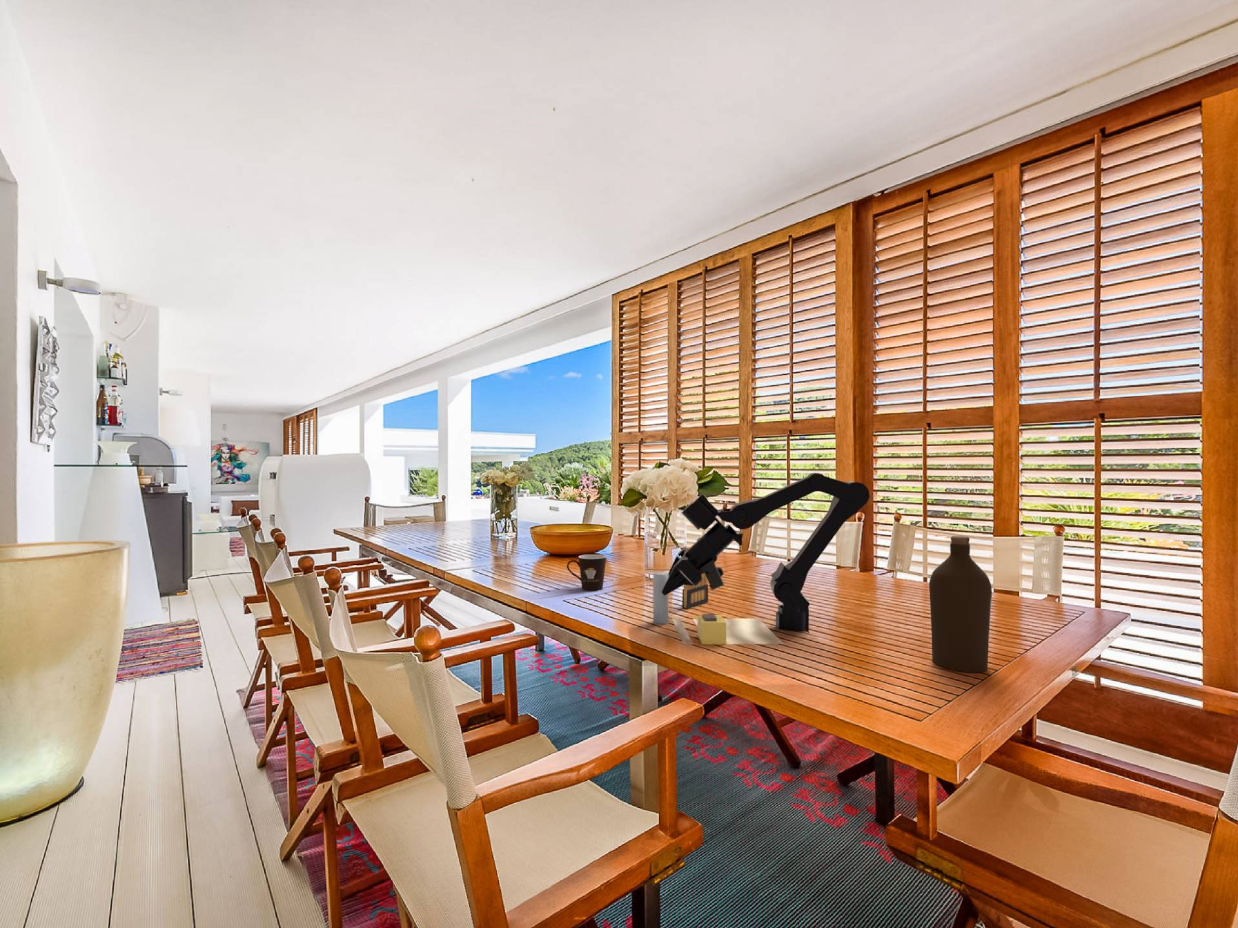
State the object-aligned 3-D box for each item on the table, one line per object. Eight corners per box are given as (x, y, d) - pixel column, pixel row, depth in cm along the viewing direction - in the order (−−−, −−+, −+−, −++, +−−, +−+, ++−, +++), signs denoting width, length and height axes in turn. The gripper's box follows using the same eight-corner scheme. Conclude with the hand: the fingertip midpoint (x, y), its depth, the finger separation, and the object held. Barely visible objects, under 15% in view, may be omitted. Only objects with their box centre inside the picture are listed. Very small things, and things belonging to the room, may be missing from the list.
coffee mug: (611, 587, 184) (611, 556, 184) (595, 593, 177) (596, 559, 177) (581, 583, 190) (581, 552, 190) (565, 588, 183) (565, 556, 183)
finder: (720, 635, 129) (720, 612, 129) (726, 644, 123) (726, 619, 123) (697, 635, 129) (697, 612, 129) (702, 644, 123) (702, 619, 123)
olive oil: (946, 673, 110) (947, 540, 110) (918, 655, 121) (919, 533, 121) (1004, 674, 110) (1004, 540, 110) (970, 655, 121) (971, 533, 120)
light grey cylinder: (667, 626, 141) (668, 572, 141) (669, 630, 138) (670, 575, 137) (652, 626, 141) (652, 572, 141) (653, 630, 137) (653, 575, 137)
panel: (757, 624, 143) (757, 618, 143) (783, 650, 123) (783, 643, 123) (671, 624, 142) (671, 618, 142) (683, 651, 122) (683, 644, 122)
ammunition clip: (687, 609, 158) (687, 564, 158) (681, 608, 159) (682, 563, 159) (708, 602, 166) (708, 559, 166) (702, 601, 167) (703, 558, 167)
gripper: (739, 577, 128) (687, 625, 129) (733, 562, 146) (688, 605, 148) (703, 540, 129) (652, 588, 130) (701, 530, 147) (657, 572, 149)
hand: (663, 589), depth 139 cm, fingers open, 9 cm apart
